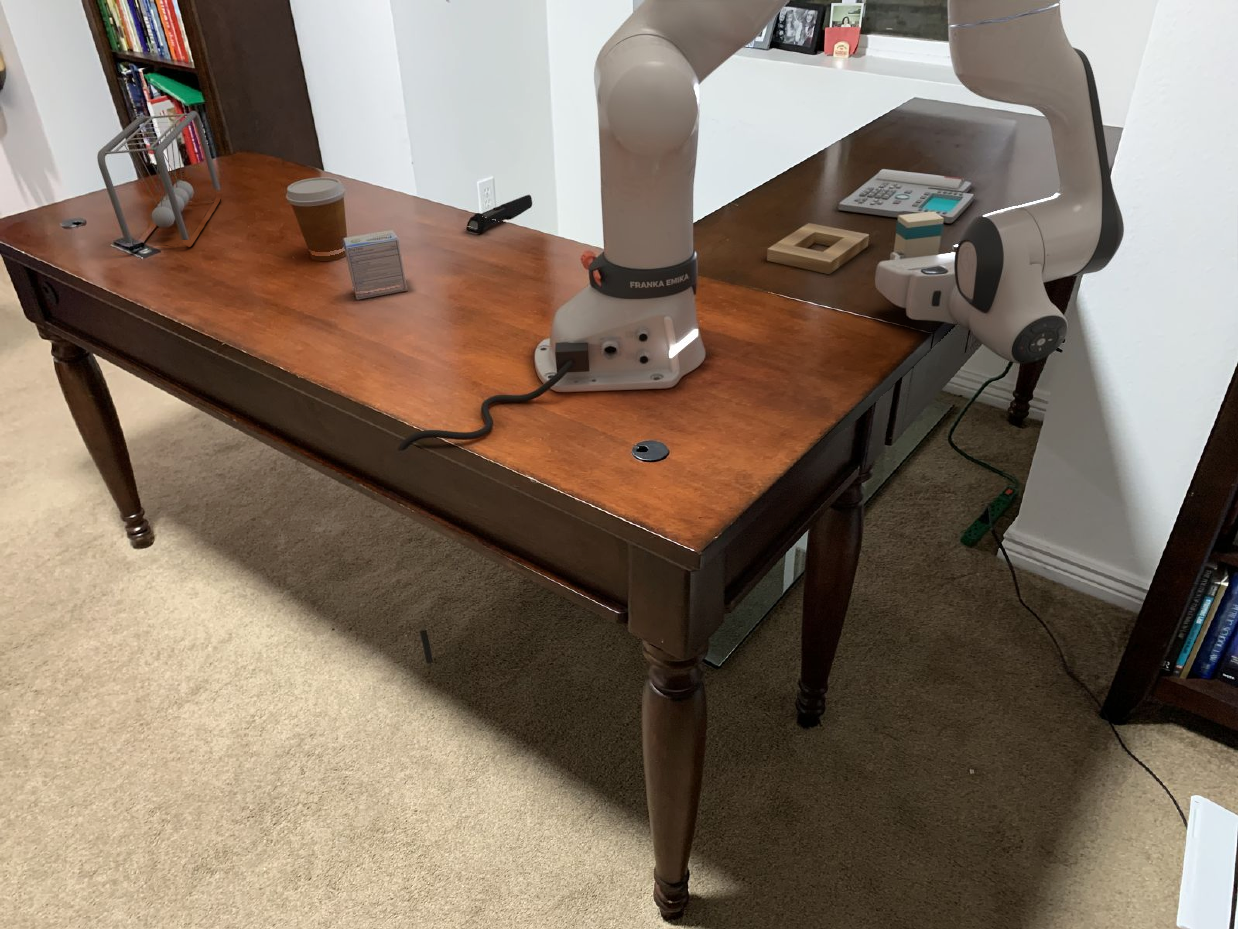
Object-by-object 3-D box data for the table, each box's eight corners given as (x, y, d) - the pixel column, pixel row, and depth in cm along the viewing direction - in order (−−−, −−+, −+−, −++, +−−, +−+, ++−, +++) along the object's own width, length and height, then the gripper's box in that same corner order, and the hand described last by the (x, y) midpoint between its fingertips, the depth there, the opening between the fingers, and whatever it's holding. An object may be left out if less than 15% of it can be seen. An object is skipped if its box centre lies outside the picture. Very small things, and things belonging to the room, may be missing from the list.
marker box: (898, 288, 137) (907, 222, 131) (889, 279, 139) (897, 214, 134) (934, 283, 137) (944, 218, 132) (924, 275, 140) (933, 210, 134)
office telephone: (881, 163, 181) (986, 175, 171) (879, 176, 182) (984, 189, 173) (839, 196, 164) (953, 211, 155) (837, 210, 166) (950, 226, 157)
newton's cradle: (170, 203, 187) (141, 112, 177) (223, 199, 188) (198, 107, 178) (129, 256, 162) (93, 153, 152) (191, 250, 163) (159, 148, 153)
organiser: (829, 274, 142) (830, 262, 141) (766, 260, 148) (767, 248, 147) (868, 246, 151) (869, 234, 150) (807, 234, 157) (808, 222, 156)
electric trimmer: (538, 211, 173) (537, 195, 171) (480, 235, 163) (478, 218, 161) (523, 208, 175) (522, 192, 173) (465, 232, 165) (462, 214, 163)
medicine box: (403, 281, 147) (393, 228, 142) (408, 291, 143) (398, 237, 139) (353, 290, 145) (341, 237, 140) (357, 301, 141) (345, 246, 136)
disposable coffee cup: (296, 251, 160) (279, 182, 154) (350, 240, 164) (336, 172, 157) (307, 269, 153) (290, 197, 146) (364, 257, 157) (349, 187, 150)
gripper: (1051, 258, 121) (996, 224, 133) (905, 276, 118) (861, 239, 130) (1040, 303, 125) (988, 266, 136) (899, 321, 122) (857, 281, 133)
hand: (925, 253), depth 133 cm, fingers open, 8 cm apart
